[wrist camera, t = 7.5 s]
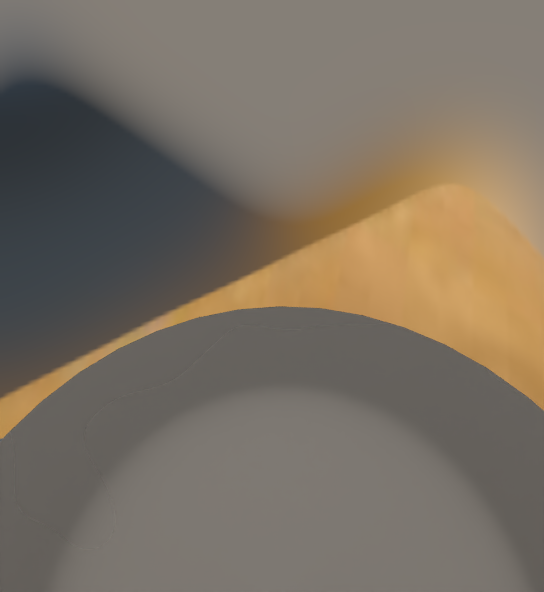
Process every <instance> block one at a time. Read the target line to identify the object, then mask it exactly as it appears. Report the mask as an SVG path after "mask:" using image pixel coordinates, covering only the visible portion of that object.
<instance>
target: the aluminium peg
mask: <svg viewBox="0 0 544 592" xmlns="http://www.w3.org/2000/svg"><path fill="white" fill-rule="evenodd" d="M0 592H544V411H543V410H542V409H541V408H540V407H539V406H537V405H536V404H535V403H534V402H533V401H532V400H531V399H529V398H528V397H527V396H526V395H524V394H523V393H521V392H520V391H518V390H517V389H516V388H514V387H513V386H511V385H510V384H509V383H507V382H506V381H504V380H503V379H502V378H500V377H499V376H497V375H496V374H495V373H493V372H492V371H490V370H489V369H488V368H486V367H484V366H482V365H480V364H479V363H477V362H475V361H473V360H472V359H470V358H468V357H466V356H464V355H463V354H461V353H459V352H457V351H455V350H454V349H452V348H450V347H448V346H447V345H444V344H442V343H440V342H437V341H435V340H433V339H430V338H428V337H425V336H423V335H421V334H418V333H416V332H414V331H411V330H409V329H406V328H404V327H401V326H397V325H394V324H390V323H387V322H384V321H380V320H377V319H373V318H370V317H366V316H363V315H358V314H351V313H345V312H339V311H333V310H327V309H321V308H301V307H266V308H253V309H240V310H234V311H229V312H224V313H219V314H214V315H209V316H204V317H199V318H195V319H192V320H189V321H186V322H183V323H180V324H177V325H174V326H171V327H168V328H165V329H162V330H159V331H156V332H154V333H152V334H150V335H147V336H145V337H143V338H141V339H139V340H137V341H134V342H132V343H130V344H128V345H126V346H124V347H121V348H119V349H117V350H116V351H114V352H112V353H111V354H109V355H107V356H106V357H104V358H103V359H101V360H99V361H98V362H96V363H94V364H93V365H91V366H89V367H88V368H86V369H84V370H83V371H81V372H79V373H78V374H77V375H76V376H74V377H73V378H72V379H70V380H69V381H68V382H66V383H65V384H64V385H62V386H61V387H60V388H59V389H57V390H56V391H55V392H53V393H52V394H51V395H49V396H48V397H47V398H45V399H44V400H43V401H42V402H41V403H39V404H38V405H37V406H36V407H35V408H34V409H33V410H32V411H31V412H30V413H29V414H28V415H27V416H26V417H25V418H24V419H23V420H22V421H20V422H19V423H18V424H17V425H16V426H15V427H14V428H13V429H12V430H11V431H10V432H9V433H8V434H7V435H6V436H5V437H4V438H3V439H2V440H1V441H0Z"/></svg>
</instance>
